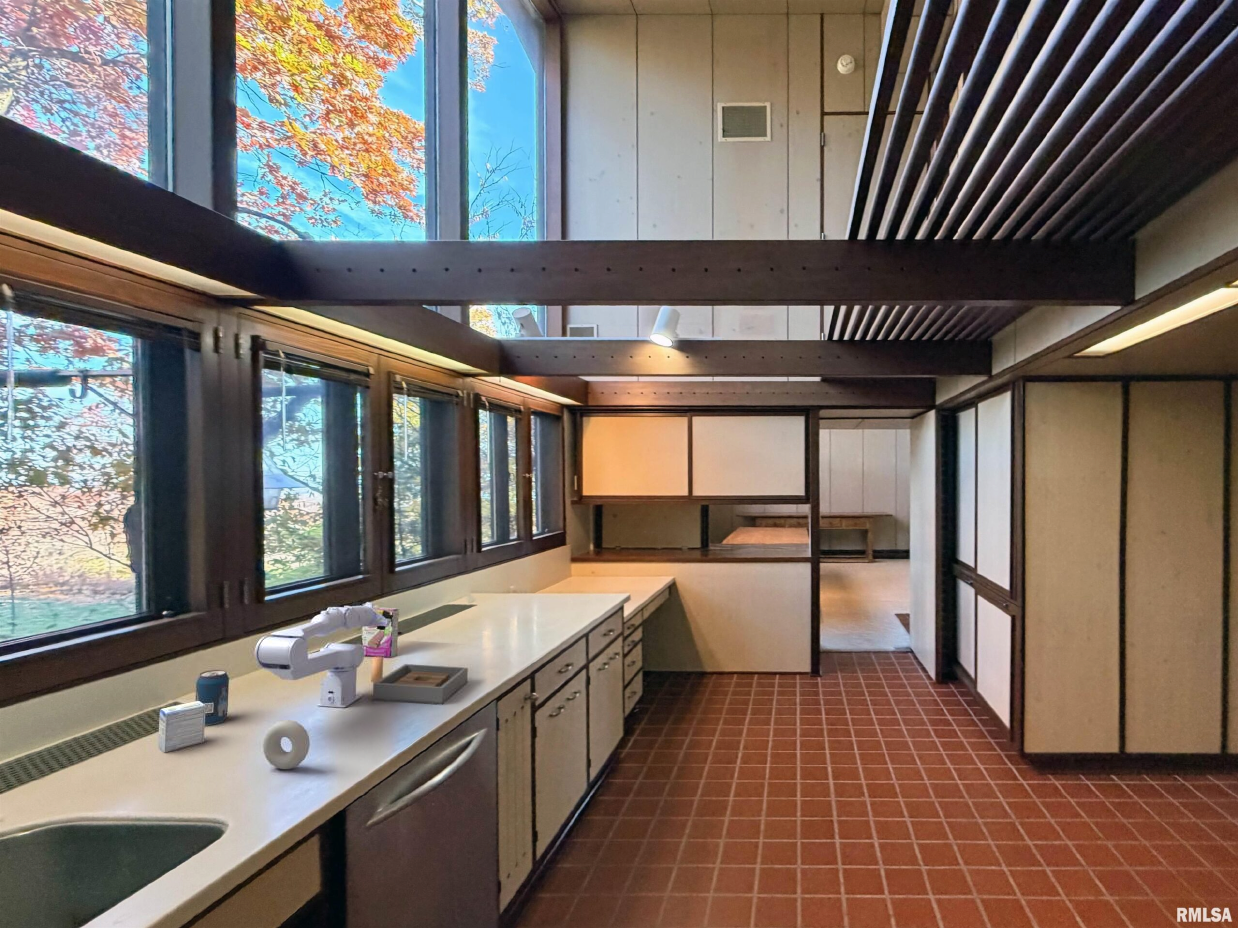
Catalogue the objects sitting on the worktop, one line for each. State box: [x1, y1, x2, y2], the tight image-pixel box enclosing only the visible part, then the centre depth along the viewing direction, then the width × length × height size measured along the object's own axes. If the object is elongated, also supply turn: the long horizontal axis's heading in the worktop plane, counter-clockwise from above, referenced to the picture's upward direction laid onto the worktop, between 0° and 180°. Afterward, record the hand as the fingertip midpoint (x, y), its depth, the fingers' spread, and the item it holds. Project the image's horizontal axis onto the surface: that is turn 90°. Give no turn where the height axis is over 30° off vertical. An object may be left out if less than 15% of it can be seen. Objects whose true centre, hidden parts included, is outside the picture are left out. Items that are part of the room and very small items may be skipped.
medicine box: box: [157, 701, 206, 753], centre depth 146 cm, size 8×4×9 cm, turn 141°
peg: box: [370, 657, 384, 684], centre depth 195 cm, size 3×3×7 cm
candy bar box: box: [361, 606, 400, 659], centre depth 223 cm, size 11×5×16 cm, turn 84°
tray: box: [372, 663, 469, 705], centre depth 187 cm, size 20×20×4 cm
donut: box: [262, 719, 311, 770], centre depth 135 cm, size 10×4×10 cm, turn 82°
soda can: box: [194, 669, 230, 726], centre depth 160 cm, size 7×7×12 cm
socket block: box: [394, 671, 450, 687], centre depth 187 cm, size 12×12×3 cm
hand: (379, 614), depth 198 cm, fingers open, 7 cm apart
